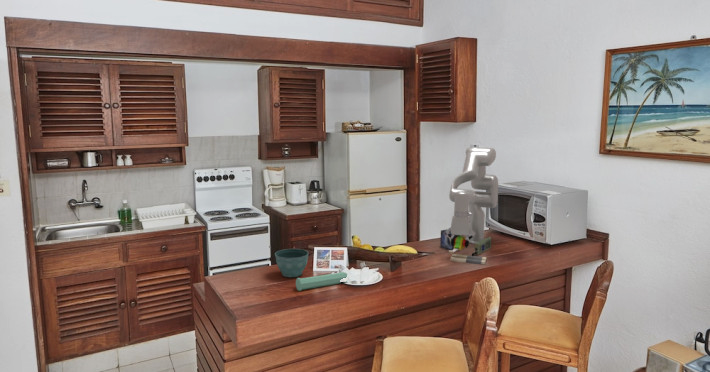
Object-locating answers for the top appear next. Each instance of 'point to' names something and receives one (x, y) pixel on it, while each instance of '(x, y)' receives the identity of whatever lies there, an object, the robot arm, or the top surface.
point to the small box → (446, 240)
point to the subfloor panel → (468, 259)
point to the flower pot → (291, 261)
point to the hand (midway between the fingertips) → (459, 246)
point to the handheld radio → (482, 246)
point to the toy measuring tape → (459, 244)
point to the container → (319, 281)
